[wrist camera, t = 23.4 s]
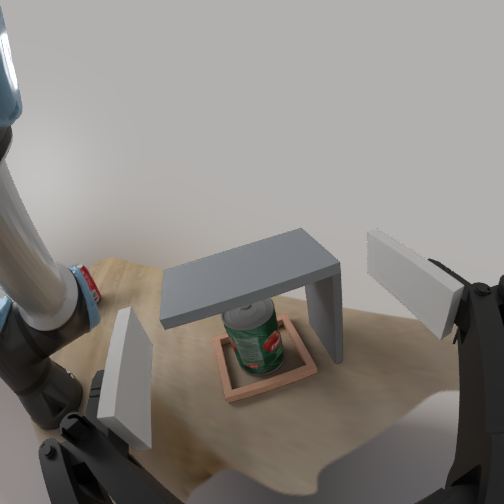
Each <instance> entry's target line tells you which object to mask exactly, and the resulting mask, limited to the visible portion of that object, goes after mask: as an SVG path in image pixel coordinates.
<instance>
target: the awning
mask: <svg viewBox="0 0 504 504" xmlns="http://www.w3.org/2000/svg"><path fill="white" fill-rule="evenodd" d="M302 286H305V291H306V298H307V306H308V314H309V322H310V324H311V326H312V328H313V329H314V331H315V332H316V334H317V335H318V337H319V338H320V340H321V341H322V343H323V345H324V346H325V348H326V349H327V351H328V352H329V354H330V355H331V357H332V359H333V360H334V362H335V363H336V364H337V363H339V362H341V361H343V318H342V289H341V269H340V262H339V261H338V260H337V259H336V258H335V257H334V256H333V255H332V254H331V253H329V252H328V251H327V250H326V249H325V248H324V247H323V246H322V245H320V244H319V243H318V242H317V241H316V240H315V239H313V238H312V237H311V236H310V235H309V234H308V233H307V232H306V231H304V230H303V229H302V228H299V229H296V230H293V231H289V232H287V233H283V234H279V235H277V236H273V237H270V238H266V239H263V240H260V241H257V242H253V243H250V244H247V245H244V246H241V247H237V248H234V249H231V250H227V251H224V252H221V253H218V254H214V255H211V256H208V257H205V258H201V259H198V260H195V261H192V262H189V263H186V264H182V265H179V266H176V267H173V268H170V269H166V270H163V281H162V293H161V307H160V322H161V323H162V325H163V327H164V329H165V330H166V329H170V328H173V327H177V326H180V325H184V324H187V323H191V322H194V321H197V320H201V319H204V318H207V317H211V316H214V315H217V314H221V313H224V312H227V311H230V310H233V309H237V308H240V307H243V306H246V305H249V304H252V303H255V302H258V301H261V300H264V299H267V298H270V297H273V296H276V295H279V294H282V293H285V292H288V291H291V290H293V289H297V288H300V287H302Z"/></svg>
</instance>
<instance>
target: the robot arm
mask: <svg viewBox="0 0 504 504" xmlns="http://www.w3.org/2000/svg"><path fill="white" fill-rule="evenodd" d="M21 113H22V102H21V96H20V91H19V87H18V83H17V79H16V75H15V71H14V65H13V60H12V55H11V51H10V46H9V41H8V37H7V32H6V27H5V23H4V18H3V15H2V11H1V7H0V288H1V289H2V290H3V291H4V292H5V293H6V294H7V295H8V296H9V297H11V298H12V299H13V300H14V302H12V300H11V299H10V298H9V297H8V296H4V297H3V298H0V377H1V378H2V379H3V381H4V382H5V383H6V384H7V385H8V386H9V387H10V388H11V389H12V390H13V391H14V393H16V395H17V396H18V397H19V399H20V401H21V403H22V404H23V406H24V408H25V409H26V411H27V413H28V415H29V416H30V418H31V419H32V420H33V421H34V422H35V423H36V424H37V425H38V426H40V427H41V428H43V429H55V428H58V427H60V428H59V431H60V434H61V436H63V437H64V438H65V439H66V440H68V441H66V442H64V443H61V444H60V443H59V442H57V441H56V440H55V439H51V438H50V439H46V440H45V441H44V442H43V443H42V444H41V446H40V448H39V459H40V464H41V468H42V472H43V477H44V480H45V484H46V488H47V491H48V494H49V498H50V501H51V504H113V503H112V501H111V499H110V497H109V495H110V496H111V497H112V499H113V500H114V501H115V502H116V503H117V504H184V503H183V502H182V501H180V500H179V499H178V498H177V497H175V496H174V495H173V494H172V493H171V492H170V491H168V490H167V489H166V488H165V487H164V486H163V485H162V484H161V483H159V482H158V481H157V480H156V479H155V478H154V477H153V476H152V475H151V474H150V473H149V472H148V471H147V470H146V469H145V468H144V467H143V466H142V465H141V464H140V463H139V462H138V461H137V460H136V459H135V458H134V457H133V456H132V455H131V454H129V453H128V447H129V446H130V447H131V448H133V449H134V450H135V451H139V450H149V449H152V443H151V369H152V347H153V344H152V343H151V341H150V339H149V338H148V336H147V334H146V332H145V331H144V329H143V327H142V325H141V324H140V322H139V320H138V318H137V317H136V315H135V313H134V311H133V309H132V307H128V308H124V309H121V310H118V314H117V318H116V321H115V325H114V330H113V334H112V338H111V342H110V347H109V351H108V356H107V361H106V366H105V370H100V371H97V373H96V375H95V376H94V378H93V380H92V384H91V391H90V394H89V397H90V398H89V400H88V405H87V411H86V417H85V416H83V415H82V414H81V413H80V412H76V411H77V409H78V407H79V405H80V402H81V398H82V387H81V384H80V382H79V381H78V380H77V379H76V378H75V376H74V375H73V374H72V373H71V372H69V371H68V370H66V369H64V368H63V367H61V366H60V365H58V364H57V363H55V362H54V361H52V360H51V359H50V358H49V356H50V355H52V354H53V353H55V352H56V351H58V350H60V349H61V348H63V347H64V346H66V345H67V344H69V343H71V342H72V341H74V340H75V339H77V338H79V337H80V336H82V335H83V334H85V333H88V332H90V331H91V329H92V328H94V327H95V326H97V325H98V324H99V322H100V319H101V317H100V313H99V310H98V307H97V305H96V303H95V301H94V298H93V295H92V293H91V291H90V289H89V287H88V285H87V283H86V281H85V279H84V277H83V275H82V273H81V271H80V270H79V268H78V267H77V266H75V265H73V266H69V267H66V266H64V265H62V264H61V263H58V262H54V260H53V259H52V257H51V255H50V254H49V252H48V250H47V249H46V247H45V245H44V243H43V242H42V240H41V238H40V236H39V234H38V232H37V230H36V229H35V227H34V225H33V223H32V221H31V219H30V217H29V215H28V213H27V211H26V209H25V207H24V205H23V203H22V200H21V198H20V196H19V194H18V191H17V189H16V187H15V184H14V182H13V180H12V177H11V175H10V172H9V170H8V167H7V164H6V162H5V158H6V156H7V154H8V152H9V149H10V147H11V143H12V138H13V134H12V129H11V125H12V124H13V123H14V122H15V120H16V119H18V118H19V117H20V115H21ZM367 258H368V259H367V260H368V262H367V264H368V265H367V266H368V268H367V270H368V271H367V273H368V274H369V275H370V276H371V277H372V278H374V279H375V280H376V281H377V282H378V283H379V284H380V285H382V286H383V287H384V288H385V289H386V290H387V291H388V292H389V293H391V294H392V295H393V296H394V297H395V298H396V299H397V300H398V301H399V302H400V303H402V304H403V305H404V306H405V307H406V308H407V309H408V310H409V311H410V312H412V314H414V315H415V316H416V317H417V318H418V319H419V320H420V321H421V322H422V323H423V324H424V325H425V326H426V327H427V328H428V329H429V330H430V331H431V332H432V333H434V334H435V335H436V336H437V337H438V338H439V339H440V340H441V339H443V338H444V337H446V336H447V335H449V334H450V333H451V331H452V328H453V325H454V323H455V324H456V325H457V326H458V329H457V332H456V335H455V337H454V340H453V344H455V342H456V340H457V341H458V354H459V376H460V401H459V403H460V404H459V423H458V435H457V445H456V453H455V459H454V463H453V465H452V467H451V469H450V471H449V474H448V477H447V481H446V485H445V489H442V488H441V489H439V490H437V491H436V492H434V493H432V494H431V495H429V496H427V497H425V498H424V499H422V500H420V501H418V502H417V503H415V504H504V275H502V277H501V278H500V281H499V284H498V285H496V286H493V287H489V286H488V285H486V284H484V283H479V282H478V283H473V284H470V283H469V282H467V281H466V280H465V279H463V278H462V277H460V276H459V275H458V274H456V273H454V272H453V271H451V270H450V269H449V268H446V266H444V265H443V264H441V263H440V262H438V261H435V260H432V259H425V258H424V257H423V256H421V255H420V254H418V253H416V252H415V251H413V250H412V249H410V248H408V247H407V246H406V245H404V244H402V243H401V242H399V241H397V240H396V239H394V238H393V237H391V236H389V235H388V234H386V233H384V232H383V231H381V230H379V229H378V228H377V229H374V230H371V231H368V232H367ZM108 494H109V495H108Z"/></svg>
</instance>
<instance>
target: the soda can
mask: <svg viewBox="0 0 504 504" xmlns="http://www.w3.org/2000/svg"><path fill="white" fill-rule="evenodd" d="M75 266H77V267H78V268H79V270H80V271H81V273H82V275H83V277H84V279H85V281H86V283H87V285H88V287H89V289H90V291H91V293H92V295H93V298H94V301H95V303H97V302H98V301H99V299H100V297H101V295H100V293H99V290H98V288H97V286H96V284H95V282H94V280H93V279H92V277H91V275H90V273H89V271H88V269H87V268H86V267H85V266H83V264H82V263H81V264H77V265H75Z"/></svg>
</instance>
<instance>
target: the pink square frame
mask: <svg viewBox="0 0 504 504" xmlns="http://www.w3.org/2000/svg"><path fill="white" fill-rule="evenodd" d="M277 322H278V327H279V326H282V325H284V327H285V329H286V331H287V333H288V335H289V336H290V338H291V340H292V342H293V344H294V346H295V348H296V350H297V352H298V353H299V355H300V357H301V359H302V361H303V363H304V366H302V367H299V368H297V369H294V370H291V371H288V372H286V373H283V374H280V375H277V376H274V377H271V378H268V379H265V380H262V381H259V382H256V383H253V384H250V385H247V386H243V387H240V388H237V389H233V388H232V384H231V380H230V376H229V372H228V368H227V364H226V360H225V356H224V351H223V347H222V345H224V344H227V343H230V339H229V337H228V334H227V333H225V334H221V335H218V336H215V337H213V341H214V347H215V352H216V356H217V361H218V366H219V371H220V376H221V380H222V385H223V389H224V394H225V398H226V400H227V402H228V403H230V402H233V401H237V400H240V399H244V398H247V397H250V396H254V395H257V394H260V393H263V392H266V391H269V390H272V389H275V388H278V387H281V386H284V385H287V384H289V383H292V382H295V381H297V380H300V379H303V378H305V377H308V376H310V375H313V374H315V373H317V366H316V365H315V363H314V361H313V359H312V358H311V356H310V354H309V352H308V351H307V349H306V347H305V345H304V344H303V342H302V340H301V338H300V337H299V335H298V333H297V331H296V330H295V328H294V326H293V324H292V323H291V321H290V319H289V317H288V316H287V314H283V315H280V316H277Z"/></svg>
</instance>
